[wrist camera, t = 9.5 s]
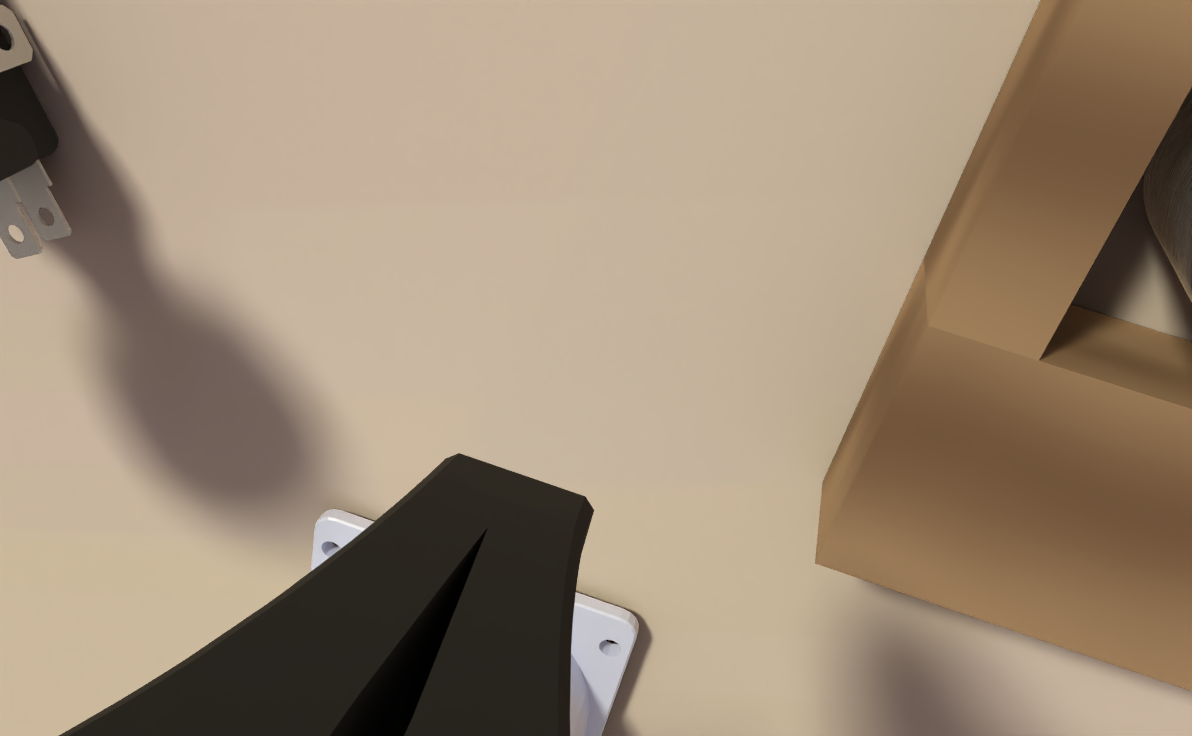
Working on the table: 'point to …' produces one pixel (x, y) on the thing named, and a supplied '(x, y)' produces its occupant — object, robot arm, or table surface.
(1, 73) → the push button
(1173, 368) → the jig
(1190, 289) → the brushed metal cylinder
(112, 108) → the table surface
